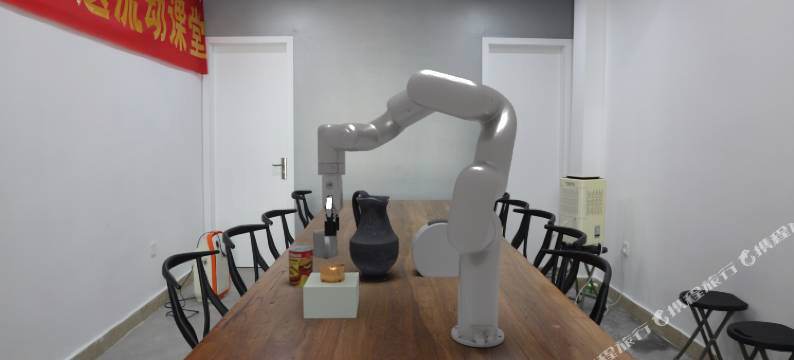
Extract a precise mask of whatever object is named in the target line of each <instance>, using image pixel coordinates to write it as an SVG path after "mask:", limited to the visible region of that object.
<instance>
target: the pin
mask: <svg viewBox="0 0 794 360" xmlns="http://www.w3.org/2000/svg"><path fill="white" fill-rule="evenodd" d="M345 266H346V265H345V263H342V262H332V261H331V262H325V263H322V264H321V265H319V267H320V268H319V269H320V272H319V273H320V280H321V281H322V282H324V283H338V282H342V281H344V280H345V273H346V267H345Z"/></svg>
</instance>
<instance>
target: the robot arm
mask: <svg viewBox="0 0 794 360" xmlns="http://www.w3.org/2000/svg"><path fill="white" fill-rule="evenodd" d="M512 104H513V103H512V102H510V100H509V99H508V98H507V97H506V96H505V95H504V94H502V93H501V92H499V90H497V89H495V88H493V87H491V86H488V85H486V84H482V83H480V82H477V81H474V80H472V79H471V80H470V79H466V78H463V77H458V76H454V75H450V74H448V73H443V72H440V71H437V70H434V69H430V68H422V69H420V70H417V71H415V72H414V73H412V75H411V76H410V77H409V79H408V80H407V82H406V88H405V89H403V90H401V91H400V92H398V93H396V94H394V95H393V96H391V97H390V98H388V100H387V102H386V109H387V110H386V111H385V112H383V114H381V115H380V116H379V117H376V118H375V119H372V120H371V121H369V122H367V123H361V122H359V123H357V122H344V123H341V124H340V123H339V124H328V123H327V124H321V125H319V126H318V128H317V175H318V176H321V200H322V210H323V211H324V224H323V225H324V228H323V229H324V231H325V236H336V235H337V236H338V231H339V230H340V213H339V212H341V211H342V210H343V208H344V197H343V195H344V194H343V190H344V189H343V186H344V185H343V176H345V175H346V152H349V153H350V152H369V151H373V150H375V149H377V148H380V147H382V146H383V145H385V144H387V143H388V142H390V141H392V140H394V139H395V138H397V137H398V136H399V135H400V134H402V133H403V132H404V131H405V130H406V129H407V128H408V127H410V126H412V125H414V124H415V123H417V122H419V121H421V120H423V119H424V118H427V117H428V116H430V115H432V114H434V113H436V112H437V113H442V114H444V115H448V116H450V117H454V118H457V119H460V120H464V121H470V122H478V123H479V125H480V131H479V135H478V137H477V140H476V144H475V151H474V157H473V161H472V164H468V165H467V166H465V167H464V168H463V169H462V170H461V171H460V172H459V173H458V175H457V177H456V180H455V182H454V185H453V186H454V187H453V191H452V195H451V200H450V206H449V213H448V218H447V219H448V222H447V238H448V241H449V243H450V245H451V246H452V248H453V249H454V250H456V251H457V252H459V253H460V255H459V277H457V278H458V282H457V283H458V286H457V287H458V288H457V289H458V292H457V293H458V294H457V324H456V325H455V326H453V327H452V328H451V332H450V333H451V334H450V335H451V338H452V339H453V340H454V341H455V342H457V343H459V344H462V345H465V346H468V347H472V348H473V347H474V348H490V347H496V346H498V345H500V344H502V343H503V342H504V341H505V333H504V331H503V330H502V329H501V328H499V292H500V289H499V288H500V287H499V281H500V258H501V256H500V255H501V247H502V240H503V239H502V237H503V227H502V226H503V225H502V221H501V219H500V216H499V215H498V213H497V212H495V211H494V209H495V204H496V201H498V200H499V199H501V198H502V197H503V196H504V195H505V193H506V191H507V189H508V182H509V177H510V176H509V175H510V170H511V166H512V160H513V154H514V148H515V142H516V136H517V131H518V118H517V114H516V111H515V108H514V106H513V105H512Z"/></svg>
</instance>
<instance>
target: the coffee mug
mask: <svg viewBox="0 0 794 360" xmlns="http://www.w3.org/2000/svg"><path fill="white" fill-rule="evenodd" d="M312 239H313V240H312V244H313V245H312V247H313V257H316V258H322V259H324V258H325V259H326V258H327V259H328V258H333V257H336V256H338V234H337V235H336V236H325V231H324V228H321V229H315V230H313V231H312Z"/></svg>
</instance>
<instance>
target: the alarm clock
mask: <svg viewBox="0 0 794 360" xmlns="http://www.w3.org/2000/svg"><path fill="white" fill-rule="evenodd" d="M447 222H448V218H435V219H430V220H429V221H427V223H425V224H424V225H423V226H421V227H420V228H419V229H418V230H417V232H416V233H415V234H414V236H413V238H412V241H411V247H410V251H411V253H410V254H411V258H412V262H413V264H414V267H415V269H416V270H417V272H419V274H420V275H421V276H422V277H423V278H450V277H451V278H454V277H455V278H458V277H459V255H460V253H459V252H457V251H456V250H454V249H453V248H452V246H451V245H450V243H449V241H448V238H447Z"/></svg>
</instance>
